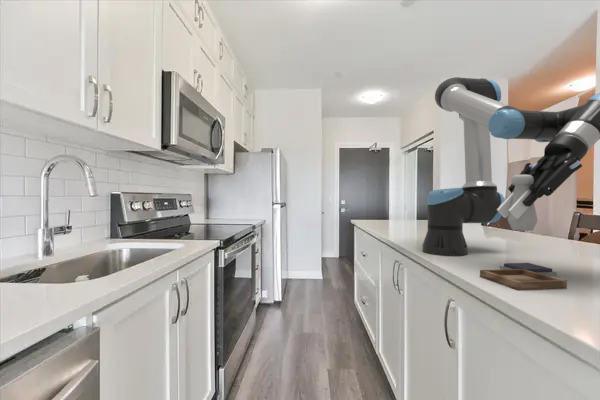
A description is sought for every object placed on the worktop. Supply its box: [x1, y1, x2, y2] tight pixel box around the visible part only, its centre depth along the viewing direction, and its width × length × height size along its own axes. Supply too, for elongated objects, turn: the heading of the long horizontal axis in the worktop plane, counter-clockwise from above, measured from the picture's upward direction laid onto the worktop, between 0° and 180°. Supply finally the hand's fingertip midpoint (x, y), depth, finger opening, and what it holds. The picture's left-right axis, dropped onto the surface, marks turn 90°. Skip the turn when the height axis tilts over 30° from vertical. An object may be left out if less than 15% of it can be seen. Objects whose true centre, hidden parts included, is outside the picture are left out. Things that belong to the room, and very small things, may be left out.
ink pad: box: [499, 262, 558, 276], centre depth 88 cm, size 9×9×2 cm
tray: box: [479, 268, 568, 291], centre depth 77 cm, size 12×12×2 cm
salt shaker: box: [507, 174, 538, 232], centre depth 77 cm, size 6×6×13 cm
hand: (507, 214), depth 76 cm, fingers closed on salt shaker, 3 cm apart
